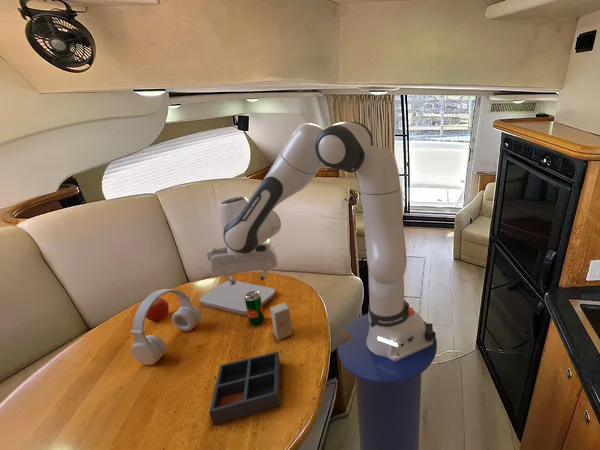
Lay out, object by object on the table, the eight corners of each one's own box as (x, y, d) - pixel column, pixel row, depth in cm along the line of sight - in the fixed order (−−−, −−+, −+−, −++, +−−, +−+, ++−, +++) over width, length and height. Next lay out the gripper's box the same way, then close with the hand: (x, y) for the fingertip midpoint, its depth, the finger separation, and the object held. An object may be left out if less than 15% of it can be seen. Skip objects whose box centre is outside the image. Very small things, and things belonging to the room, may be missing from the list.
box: (278, 341, 105) (273, 313, 101) (274, 334, 108) (269, 307, 104) (293, 334, 108) (289, 307, 104) (288, 327, 111) (284, 301, 107)
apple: (158, 325, 112) (152, 307, 109) (139, 323, 113) (133, 305, 110) (176, 312, 119) (170, 295, 116) (158, 310, 120) (152, 293, 117)
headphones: (158, 367, 94) (139, 315, 87) (134, 365, 95) (112, 312, 88) (205, 324, 113) (192, 278, 106) (184, 322, 114) (169, 276, 107)
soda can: (246, 325, 112) (240, 297, 108) (256, 316, 117) (250, 289, 112) (259, 327, 111) (253, 299, 107) (267, 318, 116) (262, 291, 111)
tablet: (229, 283, 138) (228, 279, 137) (278, 294, 131) (278, 289, 130) (197, 304, 124) (196, 299, 123) (250, 317, 116) (249, 312, 115)
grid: (280, 363, 96) (277, 351, 94) (279, 406, 82) (277, 393, 81) (223, 376, 91) (220, 364, 89) (213, 425, 77) (209, 412, 76)
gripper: (203, 254, 96) (212, 292, 101) (274, 245, 103) (279, 281, 108) (207, 245, 102) (216, 282, 107) (274, 238, 108) (279, 272, 113)
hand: (248, 281), depth 108 cm, fingers open, 8 cm apart
